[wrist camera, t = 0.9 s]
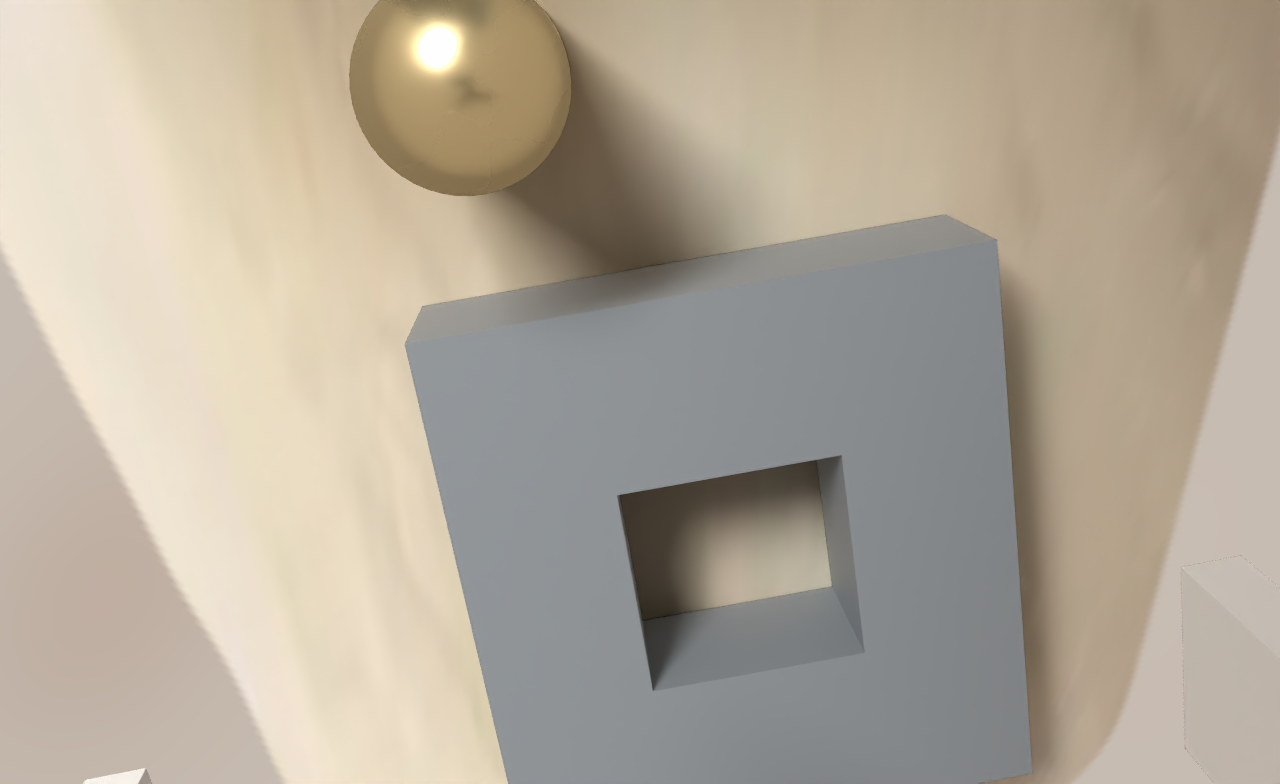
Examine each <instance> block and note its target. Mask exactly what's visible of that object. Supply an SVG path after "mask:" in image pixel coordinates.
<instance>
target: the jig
mask: <svg viewBox="0 0 1280 784" xmlns="http://www.w3.org/2000/svg"><path fill="white" fill-rule="evenodd" d="M405 347H406V352H407V356H408V360H409V364H410V369H411V373H412V377H413V381H414V386H415V390H416V394H417V398H418V403H419V407H420V411H421V415H422V420H423V424H424V428H425V432H426V437H427V441H428V445H429V449H430V454H431V458H432V462H433V466H434V470H435V475H436V479H437V483H438V487H439V492H440V496H441V500H442V504H443V509H444V513H445V517H446V521H447V526H448V530H449V534H450V538H451V543H452V547H453V551H454V555H455V560H456V564H457V568H458V572H459V577H460V581H461V585H462V589H463V594H464V598H465V602H466V606H467V610H468V615H469V619H470V623H471V627H472V632H473V636H474V640H475V644H476V649H477V653H478V657H479V661H480V666H481V670H482V674H483V678H484V683H485V687H486V691H487V695H488V700H489V704H490V708H491V712H492V717H493V721H494V725H495V729H496V733H497V738H498V742H499V746H500V750H501V755H502V759H503V763H504V767H505V772H506V776H507V780H508V784H979V783H984V782H989V781H995V780H1000V779H1006V778H1011V777H1017V776H1022V775H1028V774H1033V773H1032V758H1031V743H1030V728H1029V713H1028V698H1027V683H1026V668H1025V653H1024V638H1023V623H1022V608H1021V593H1020V578H1019V563H1018V548H1017V533H1016V518H1015V503H1014V488H1013V473H1012V458H1011V444H1010V429H1009V414H1008V399H1007V384H1006V369H1005V354H1004V339H1003V324H1002V309H1001V294H1000V279H999V264H998V249H997V240H996V239H994V238H992V237H990V236H988V235H986V234H984V233H982V232H980V231H978V230H976V229H974V228H972V227H970V226H968V225H966V224H964V223H962V222H960V221H958V220H956V219H954V218H952V217H950V216H948V215H941V216H935V217H929V218H924V219H918V220H912V221H906V222H901V223H895V224H889V225H884V226H878V227H872V228H867V229H861V230H855V231H850V232H844V233H838V234H832V235H827V236H821V237H815V238H810V239H804V240H798V241H793V242H787V243H781V244H775V245H770V246H764V247H758V248H753V249H747V250H741V251H736V252H730V253H724V254H718V255H713V256H707V257H701V258H696V259H690V260H684V261H679V262H673V263H667V264H661V265H656V266H650V267H644V268H639V269H633V270H627V271H622V272H616V273H610V274H604V275H599V276H593V277H587V278H582V279H576V280H570V281H565V282H559V283H553V284H548V285H542V286H536V287H530V288H525V289H519V290H513V291H508V292H502V293H496V294H491V295H485V296H479V297H473V298H468V299H462V300H456V301H451V302H445V303H439V304H434V305H428V306H422V308H421V310H420V312H419V314H418V317H417V319H416V321H415V323H414V325H413V327H412V329H411V332H410V334H409V336H408V338H407V340H406V342H405ZM812 460H817V468H818V476H819V484H820V493H821V501H822V509H823V517H824V525H825V533H826V541H827V549H828V557H829V565H830V573H831V581H832V587H828V588H822V589H817V590H811V591H806V592H800V593H795V594H789V595H783V596H778V597H772V598H767V599H761V600H756V601H750V602H745V603H739V604H734V605H728V606H723V607H717V608H711V609H706V610H700V611H695V612H689V613H684V614H678V615H673V616H667V617H662V618H656V619H651V620H645V621H643V620H642V614H641V609H640V603H639V598H638V592H637V587H636V582H635V576H634V571H633V565H632V560H631V554H630V549H629V543H628V538H627V532H626V527H625V521H624V516H623V510H622V505H621V500H620V495H622V494H627V493H633V492H639V491H644V490H650V489H655V488H661V487H667V486H672V485H678V484H683V483H689V482H695V481H700V480H706V479H711V478H717V477H723V476H728V475H734V474H739V473H745V472H751V471H756V470H762V469H767V468H773V467H779V466H784V465H790V464H795V463H801V462H807V461H812Z"/></svg>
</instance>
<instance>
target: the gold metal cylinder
mask: <svg viewBox="0 0 1280 784" xmlns="http://www.w3.org/2000/svg"><path fill="white" fill-rule="evenodd" d="M349 78H350V93H351V99H352V104H353V108H354V111H355V114H356V118H357V120H358V122H359V125H360V127H361V129H362V132H363V133H364V135H365V137H366V138H367V140H368V142H369V143H370V145H371V146H372V148H373V149H374V150H375V151H376V153H377V154H378V155H379V157H380V158H381V159H382V160H383V161H384V162H385V163H386V164H387V165H388V166H389V167H391V168H392V169H393V170H394V171H396V172H397V173H398V174H400V175H401V176H402V177H404V178H406V179H407V180H409V181H411V182H412V183H414V184H416V185H419V186H421V187H423V188H426V189H428V190H431V191H435V192H438V193H442V194H448V195H455V196H474V195H483V194H487V193H492V192H496V191H499V190H501V189H504V188H506V187H509V186H511V185H513V184H515V183H517V182H518V181H520V180H522V179H523V178H525V177H526V176H527V175H529V174H530V173H532V172H533V171H534V170H535V169H536V168H537V167H538V166H539V165H540V164H541V163H542V162H543V161H544V160H545V159H546V157H547V156H548V155H549V154H550V152H551V151H552V150H553V148H554V146H555V145H556V143H557V141H558V140H559V138H560V136H561V133H562V131H563V128H564V126H565V123H566V120H567V116H568V113H569V107H570V100H571V74H570V66H569V62H568V58H567V54H566V50H565V48H564V45H563V42H562V40H561V37H560V34H559V32H558V30H557V29H556V27H555V25H554V23H553V22H552V20H551V19H550V17H549V16H548V15H547V14H546V12H545V11H544V10H543V9H542V8H541V7H540V6H539V5H538V4H537V3H536V2H535V1H534V0H380V1H379V2H378V3H377V4H376V5H375V6H374V8H373V9H372V11H371V12H370V13H369V15H368V16H367V18H366V19H365V21H364V23H363V25H362V27H361V29H360V30H359V33H358V36H357V38H356V41H355V44H354V47H353V52H352V56H351V62H350V73H349Z"/></svg>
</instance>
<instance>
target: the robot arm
mask: <svg viewBox="0 0 1280 784" xmlns="http://www.w3.org/2000/svg"><path fill="white" fill-rule="evenodd" d="M1181 590H1182V639H1183V687H1184V736H1185V749H1186V750H1187V752H1188V753H1189V754H1190V755H1191V756H1192V758H1193V759H1194V760H1195V761H1196V762H1197V764H1198V765H1199V766H1200V767H1201V769H1202V770H1203V771H1204V772H1205V773H1206V774H1207V776H1208V777H1209V778H1210V779H1211V780H1212V782H1213V783H1214V784H1280V587H1279V586H1277V585H1276V584H1275V583H1274V582H1273V581H1271V580H1270V579H1269V578H1268V577H1266V576H1265V575H1264V574H1263V573H1262V572H1260V571H1259V570H1258V569H1257V568H1255V567H1254V566H1253V565H1252V564H1251V563H1250V562H1248V561H1247V560H1246V559H1245V558H1243V557H1242V556H1235V557H1230V558H1225V559H1220V560H1215V561H1210V562H1204V563H1199V564H1194V565H1189V566H1184V567H1181ZM83 784H152V782H151V779H150V777H149V774H148V772H147V769H146V768H145V769H139V770H134V771H129V772H123V773H118V774H113V775H109V776H103V777H98V778H93V779H88V780H85V781H84V783H83Z"/></svg>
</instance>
